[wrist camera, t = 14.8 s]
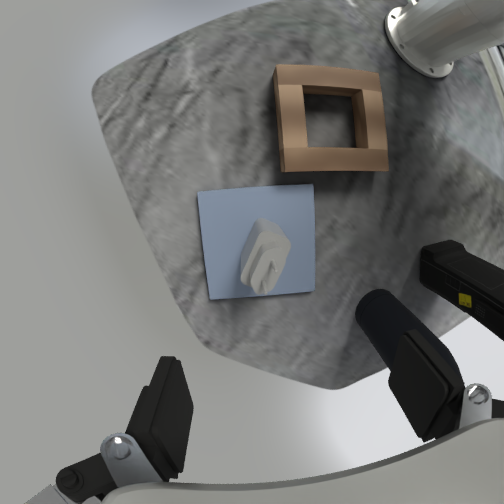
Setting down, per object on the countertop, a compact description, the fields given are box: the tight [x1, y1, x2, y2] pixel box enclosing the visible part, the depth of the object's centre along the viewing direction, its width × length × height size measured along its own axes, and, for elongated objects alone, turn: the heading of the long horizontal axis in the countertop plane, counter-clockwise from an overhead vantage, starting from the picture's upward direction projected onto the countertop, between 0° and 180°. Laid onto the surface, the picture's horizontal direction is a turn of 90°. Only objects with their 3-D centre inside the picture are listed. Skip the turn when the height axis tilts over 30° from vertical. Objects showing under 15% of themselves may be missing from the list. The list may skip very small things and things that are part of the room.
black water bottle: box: [356, 289, 465, 387], centre depth 21 cm, size 6×6×30 cm
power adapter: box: [241, 218, 291, 295], centre depth 26 cm, size 3×5×12 cm, turn 157°
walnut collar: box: [273, 65, 389, 172], centre depth 27 cm, size 12×12×4 cm
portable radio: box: [420, 240, 504, 341], centre depth 22 cm, size 8×6×25 cm
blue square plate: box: [197, 184, 315, 300], centre depth 32 cm, size 13×13×1 cm
